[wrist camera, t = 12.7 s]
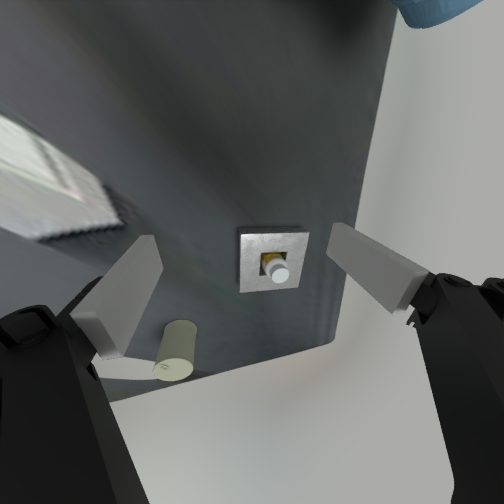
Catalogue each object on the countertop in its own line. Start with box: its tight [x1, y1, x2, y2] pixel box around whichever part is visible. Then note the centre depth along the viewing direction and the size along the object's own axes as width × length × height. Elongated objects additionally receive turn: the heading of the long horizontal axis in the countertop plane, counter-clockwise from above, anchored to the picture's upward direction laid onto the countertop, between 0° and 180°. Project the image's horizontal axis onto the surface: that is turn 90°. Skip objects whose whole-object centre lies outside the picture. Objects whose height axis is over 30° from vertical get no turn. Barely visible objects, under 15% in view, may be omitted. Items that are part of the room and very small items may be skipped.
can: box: [153, 320, 197, 381], centre depth 48 cm, size 9×9×12 cm
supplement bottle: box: [260, 252, 289, 283], centre depth 42 cm, size 5×5×10 cm
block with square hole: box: [238, 227, 309, 292], centre depth 45 cm, size 16×16×4 cm
